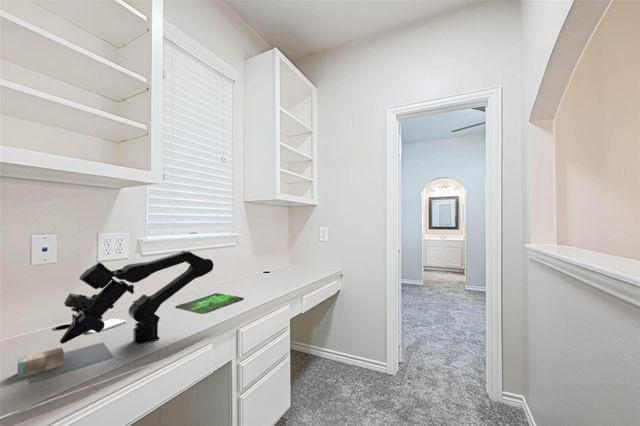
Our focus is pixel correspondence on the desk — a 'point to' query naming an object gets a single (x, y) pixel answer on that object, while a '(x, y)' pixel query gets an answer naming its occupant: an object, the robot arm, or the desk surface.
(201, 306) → the mouse mat
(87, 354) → the rubber mat
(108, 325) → the external hard drive
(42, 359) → the birch block
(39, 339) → the desk surface
